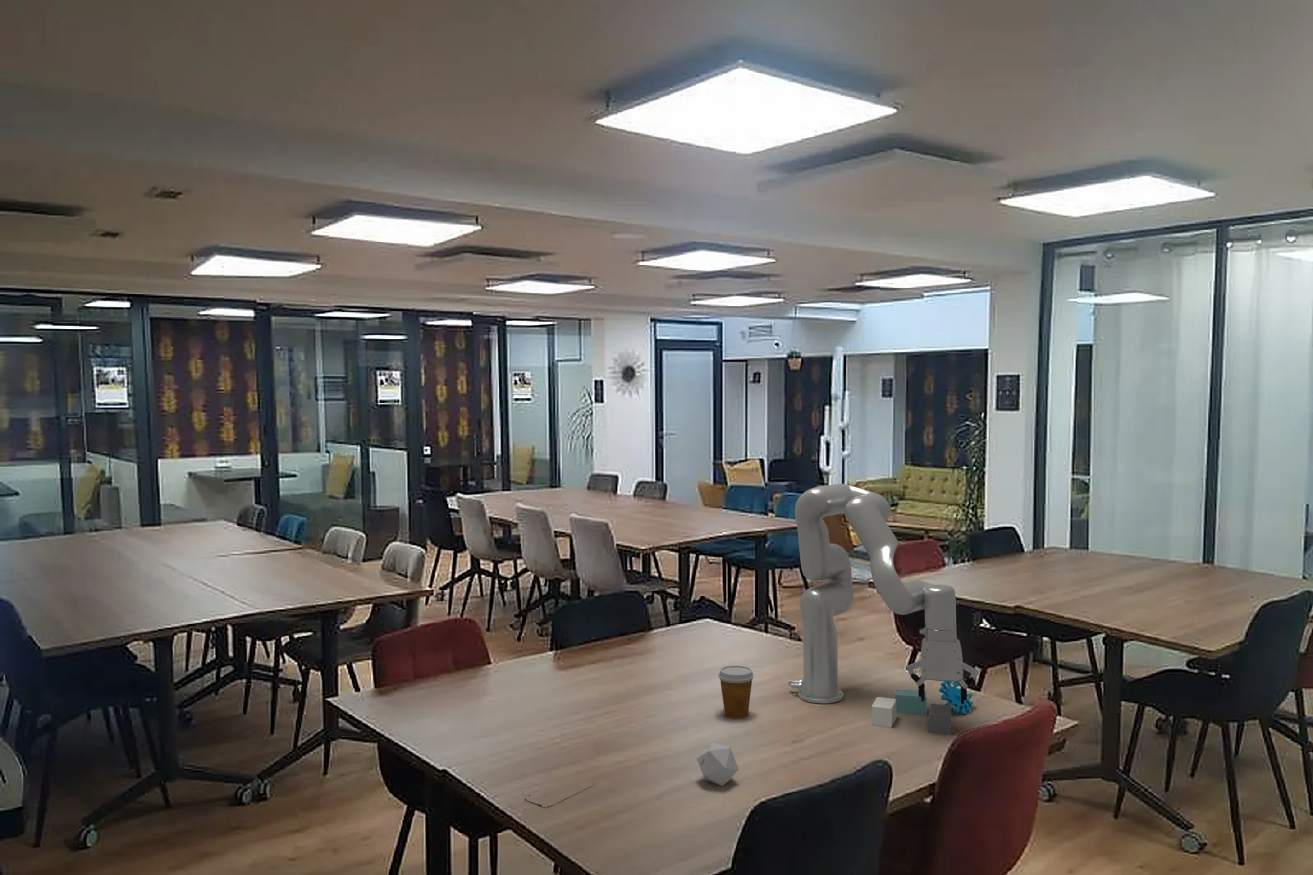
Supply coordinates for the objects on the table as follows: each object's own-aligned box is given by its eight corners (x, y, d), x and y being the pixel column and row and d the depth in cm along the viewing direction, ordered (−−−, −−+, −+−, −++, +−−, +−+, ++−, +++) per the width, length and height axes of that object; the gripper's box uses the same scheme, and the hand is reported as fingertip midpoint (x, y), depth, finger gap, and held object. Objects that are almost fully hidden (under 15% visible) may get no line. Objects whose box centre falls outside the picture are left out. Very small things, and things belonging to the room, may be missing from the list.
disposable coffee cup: (758, 711, 245) (758, 667, 244) (747, 722, 236) (746, 677, 236) (725, 706, 249) (725, 663, 248) (713, 717, 240) (712, 673, 240)
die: (703, 773, 206) (686, 748, 202) (735, 753, 207) (719, 728, 202) (715, 800, 199) (698, 774, 195) (749, 779, 200) (732, 753, 195)
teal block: (895, 713, 242) (895, 694, 242) (895, 707, 247) (895, 689, 247) (926, 715, 240) (926, 697, 240) (926, 709, 245) (926, 691, 245)
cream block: (891, 728, 232) (891, 708, 231) (871, 725, 234) (871, 706, 233) (896, 717, 239) (896, 699, 239) (877, 715, 241) (877, 696, 241)
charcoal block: (949, 735, 226) (949, 716, 226) (928, 733, 228) (928, 713, 227) (951, 724, 233) (951, 705, 233) (931, 722, 235) (931, 703, 235)
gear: (952, 712, 237) (936, 678, 243) (939, 723, 241) (923, 689, 247) (983, 711, 242) (967, 678, 248) (970, 722, 245) (954, 689, 252)
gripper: (904, 636, 229) (906, 703, 229) (976, 639, 223) (978, 708, 223) (906, 629, 236) (908, 694, 236) (977, 632, 230) (979, 699, 230)
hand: (942, 701), depth 230 cm, fingers open, 9 cm apart
